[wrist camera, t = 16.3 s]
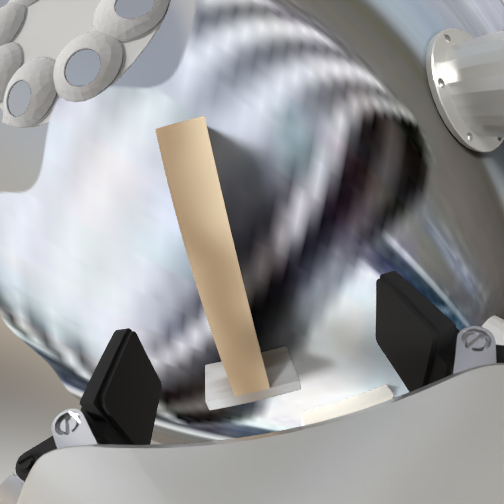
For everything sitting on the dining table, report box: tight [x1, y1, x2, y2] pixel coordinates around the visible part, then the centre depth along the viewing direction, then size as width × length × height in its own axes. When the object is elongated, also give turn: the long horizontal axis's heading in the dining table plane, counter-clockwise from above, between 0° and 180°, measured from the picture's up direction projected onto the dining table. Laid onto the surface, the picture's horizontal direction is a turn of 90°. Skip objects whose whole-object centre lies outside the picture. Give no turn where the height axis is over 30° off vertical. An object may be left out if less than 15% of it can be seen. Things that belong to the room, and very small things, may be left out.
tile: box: [300, 385, 394, 426], centre depth 28 cm, size 10×2×10 cm
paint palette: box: [0, 0, 171, 128], centre depth 12 cm, size 20×20×2 cm
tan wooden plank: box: [156, 116, 301, 410], centre depth 19 cm, size 7×19×4 cm, turn 12°
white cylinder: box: [482, 316, 504, 345], centre depth 25 cm, size 7×7×7 cm
